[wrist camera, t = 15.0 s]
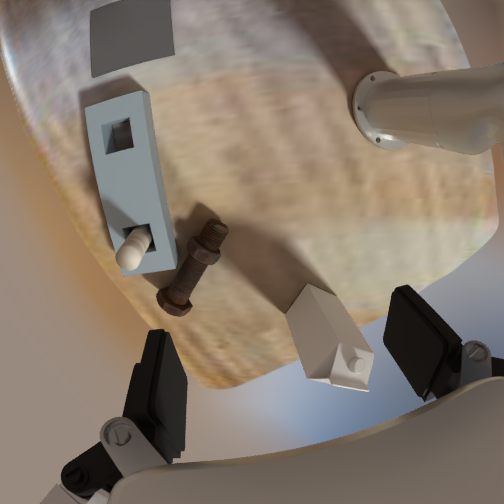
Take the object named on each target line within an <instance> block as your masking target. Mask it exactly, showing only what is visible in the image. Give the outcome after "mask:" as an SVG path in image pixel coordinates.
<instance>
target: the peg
mask: <svg viewBox="0 0 504 504" xmlns="http://www.w3.org/2000/svg"><path fill="white" fill-rule="evenodd" d="M152 239H153V235H152V231H151V227H150V223H148V224H143V225H137V226H136V227H135V228H134V230H133V231H132V232H131V233H130V235H129V236H128V237H127V239H126V240H125V241H124V243H123V244H122V245H121V247H120V248H119V250H118V251H117V253H116V262H117V264H118V265H119V266H120V267H121V268H122V269H124V270H128V271H131V270H134V269H136V268H137V267H138V265H139V263H140V262H141V260H142V258H143V256H144V254H145V252H146V250H147V248H148V246H149V244H150V243H151V241H152Z"/></svg>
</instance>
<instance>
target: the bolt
mask: <svg viewBox="0 0 504 504" xmlns="http://www.w3.org/2000/svg"><path fill="white" fill-rule="evenodd" d="M228 231H229V230H228V227H227V226H226V225H225V224H223V223H221V222H219V221H217V220H215V219H209V221H208V223H207V224H206V226H205V227H204V229H203V231H202V233H201V234H200V236H196V237H193V238H191V239H190V240H189V242H188V244H187V250H188V252H189V255H188V257H187V258H186V260H185V261H184V263H183V265H182V267H181V268H180V270H179V272H178V274H177V275H176V277H175V279H174V281H173V283H172V284H171V285H170V287H169V286H168V287H165V288H163V289H160V290H159V291H158V293H157V295H156V297H157V302H158V304H159V306H160V307H161V308H162V309H163V310H164V311H166V312H167V313H168V314H170V315H173V316H179V317H182V316H184V315H186V314H187V313H188V312H189V311H190V310H191V308H192V307H193V306H192V304H191V302H190V301H189V297H190V294H191V293H192V291H193V289H194V288H195V286H196V284H197V283H198V281H199V279H200V277H201V276H202V274H203V272H204V271H205V269H206V268H207V266H208V265H213V264H215V263H216V262H217V261H218V260H219V258H220V256H221V253H220V250H219V247H220V245H221V243H222V241H223V239H224V238H225V237H226V235H227V234H228Z"/></svg>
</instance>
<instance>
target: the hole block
mask: <svg viewBox="0 0 504 504" xmlns="http://www.w3.org/2000/svg"><path fill="white" fill-rule="evenodd" d="M85 115H86V123H87V130H88V137H89V143H90V149H91V154H92V160H93V165H94V170H95V175H96V180H97V184H98V189H99V193H100V197H101V202H102V206H103V210H104V214H105V217H106V221H107V225H108V228H109V232H110V235H111V239H112V242H113V246H114V249H115V252H116V253H117V251H118V250H119V248H120V247H121V245H122V244H123V243H124V241H125V240H126V239H127V237H128V236H129V235H130V233H131V232H132V231H133V228H132V226H137V225H143V224H148V223H150V227H151V231H152V235H153V239H154V241H153V242H151V243H150V244H149V246H148V248H147V250H146V252H145V254H144V256H143V258H142V260H141V262H140V263H139V265H138V267H137V268H136V269H134V270H131V271H128V270H124V269H122V268H121V267H120V268H121V271H122V274H123V277H124V276H131V275H137V274H144V273H151V272H158V271H164V270H171V269H176V266H177V262H178V258H179V254H178V250H177V246H176V241H175V237H174V233H173V228H172V224H171V219H170V214H169V210H168V205H167V200H166V195H165V190H164V184H163V179H162V174H161V168H160V162H159V157H158V151H157V145H156V138H155V132H154V125H153V118H152V111H151V103H150V95H149V94H148V93H146V92H145V91H143V90H141V91H137V92H133V93H130V94H126V95H123V96H119V97H116V98H113V99H110V100H106V101H103V102H100V103H97V104H95V105H92V106H89V107H86V108H85ZM128 120H130V124H131V131H132V138H133V144H134V148H130V149H126V150H122V151H118V152H116V149H115V143H114V137H113V131H112V125H114V124H117V123H121V122H124V121H128Z"/></svg>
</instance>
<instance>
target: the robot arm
mask: <svg viewBox="0 0 504 504" xmlns="http://www.w3.org/2000/svg"><path fill="white" fill-rule="evenodd" d="M370 78H371V79H370ZM352 106H353V114H354V118H355V121H356V123H357V126H358V128H359V129H360V131H361V133H362V134H363V135H364V136H365V137H366V139H368V140H369V141H370V142H371V143H372V144H374V145H376V146H378V147H380V148H383V149H388V150H397V149H402V148H404V147H406V146H407V145H409V144H410V143H414V144H419V145H425V146H430V147H435V148H440V149H444V150H449V151H453V152H457V153H462V154H467V155H476V154H480V153H483V152H485V151H486V150H488V149H489V148H491V147H492V146H493V145H494V144H495V143H496V142H498V144H499V147H500V150H501V155H502V161H503V164H504V62H502V63H498V64H494V65H488V66H483V67H476V68H468V69H458V70H448V71H439V72H431V73H423V74H416V75H410V76H404V77H400V76H398V75H396V74H394V73H392V72H388V71H377V72H373V73H370V74H368V75H366V76H365V77H363V78H362V79H361V80H360V82H359V83H358V85H357V86H356V88H355V91H354V94H353V101H352ZM357 107H358V108H359V109H357ZM383 342H384V345H385V346H386V348H387V349H388V351H389V352H390V354H391V355H392V357H393V358H394V360H395V361H396V363H397V364H398V366H399V367H400V369H401V370H402V372H403V374H404V375H405V377H406V378H407V380H408V381H409V383H410V384H411V386H412V388H413V389H414V391H415V392H416V394H417V395H418V396H419V397H422V399H423V400H424V402H426V401H428V400H430V399H432V398H434V397H436V398H437V400H435V401H433V402H431V403H429V404H427V405H424V406H422V407H420V408H418V409H416V410H414V411H411V412H409V413H407V414H404V415H402V416H399V417H397V418H395V419H392V420H389V421H387V422H384V423H381V424H379V425H376V426H373V427H371V428H368V429H365V430H362V431H359V432H356V433H353V434H350V435H346V436H343V437H339V438H336V439H332V440H329V441H325V442H322V443H317V444H314V445H309V446H306V447H301V448H296V449H291V450H286V451H281V452H276V453H270V454H264V455H257V456H250V457H242V458H235V459H225V460H215V461H201V462H188V463H175V464H172V463H173V458H180V456H181V451H184V450H185V429H186V404H187V385H188V383H187V376H186V374H185V372H184V369H183V366H182V364H181V361H180V359H179V356H178V354H177V351H176V349H175V346H174V344H173V341H172V338H171V336H170V333H169V332H165V331H164V329H156V330H150V331H149V332H148V335H147V339H146V343H145V347H144V351H143V355H142V359H141V363H136V364H135V366H134V369H133V373H132V376H131V380H130V385H129V389H128V394H127V397H126V402H125V406H124V411H123V415H122V417H115V418H112V419H110V420H108V421H107V422H106V423H105V424H104V425H103V426H102V428H101V431H100V440H101V441H100V442H98V443H97V444H96V445H94V446H93V447H91V448H90V449H88V450H87V451H85V452H84V453H82V454H81V455H79V456H78V457H76V458H75V459H73V460H72V461H70V462H69V463H68V464H66V465H65V466H64V468H63V470H62V472H61V481H62V482H61V484H60V485H58V484H56V485H55V486H54V487H53V489H52V490H51V491H50V492H49V493H48V494H47V496H46V497H45V498H44V499H43V501H42V502H41V503H40V504H504V359H500V358H495V357H491V353H490V350H489V348H488V347H487V346H486V345H485V344H483V343H482V342H479V341H468V342H467V343H465V344H464V346H463V345H462V344H461V342H462V339H461V338H460V337H459V336H458V335H457V334H456V333H455V332H454V330H453V329H452V328H451V327H450V326H449V325H448V324H447V323H446V322H445V321H444V320H443V319H442V318H441V317H440V316H439V315H438V314H437V313H436V312H435V310H434V309H433V308H432V307H431V306H430V305H429V304H428V303H427V302H426V301H425V300H424V299H423V298H422V297H421V296H420V295H419V294H418V293H417V292H416V291H415V290H413V289H412V288H411V287H410V286H409V285H403V286H400V287H396V288H395V290H394V292H392V295H391V301H390V306H389V312H388V317H387V322H386V327H385V332H384V336H383Z"/></svg>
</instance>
